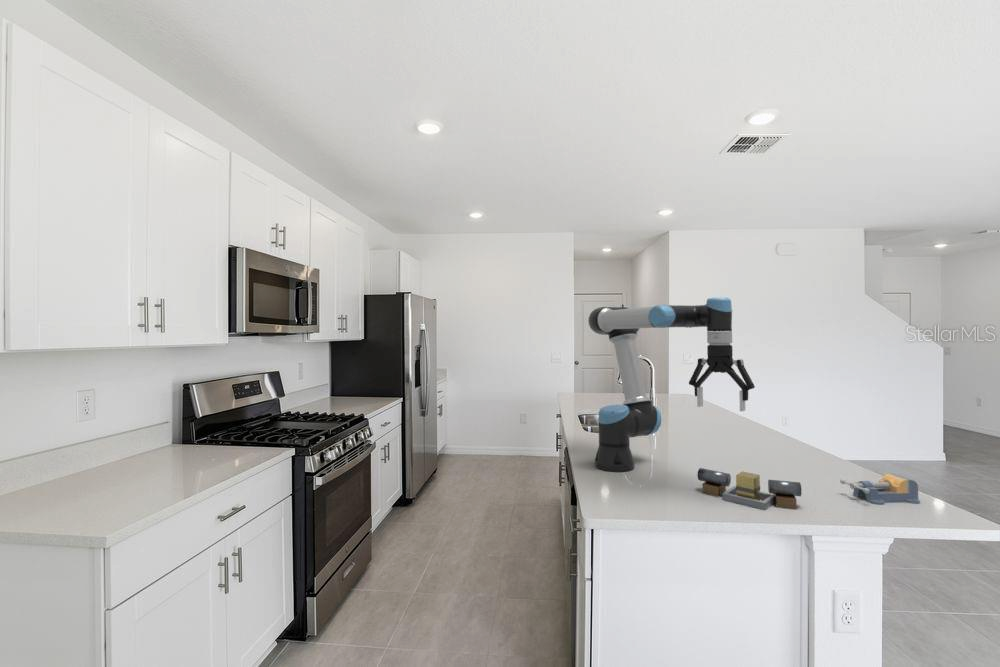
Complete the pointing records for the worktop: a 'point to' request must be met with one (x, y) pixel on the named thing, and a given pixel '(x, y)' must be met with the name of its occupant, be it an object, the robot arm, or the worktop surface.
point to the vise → (886, 490)
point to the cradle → (767, 498)
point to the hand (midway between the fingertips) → (720, 408)
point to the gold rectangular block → (748, 485)
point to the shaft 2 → (784, 493)
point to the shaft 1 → (713, 481)
